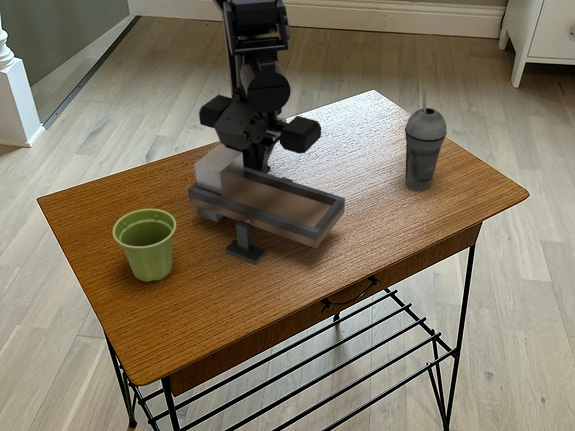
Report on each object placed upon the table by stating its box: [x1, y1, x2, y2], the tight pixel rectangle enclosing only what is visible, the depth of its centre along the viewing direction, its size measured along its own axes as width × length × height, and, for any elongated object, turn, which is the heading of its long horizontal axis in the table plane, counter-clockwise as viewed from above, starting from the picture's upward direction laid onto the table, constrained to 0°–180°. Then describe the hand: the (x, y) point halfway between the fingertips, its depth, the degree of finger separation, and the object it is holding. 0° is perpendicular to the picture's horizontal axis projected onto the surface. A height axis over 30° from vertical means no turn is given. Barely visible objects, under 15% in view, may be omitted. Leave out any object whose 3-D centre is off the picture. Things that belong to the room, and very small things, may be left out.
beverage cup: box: [404, 85, 447, 192], centre depth 108 cm, size 7×7×20 cm
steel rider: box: [194, 144, 245, 198], centre depth 101 cm, size 5×7×6 cm
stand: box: [224, 176, 294, 266], centre depth 102 cm, size 6×17×6 cm, turn 151°
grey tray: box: [187, 167, 346, 249], centre depth 101 cm, size 24×12×6 cm, turn 61°
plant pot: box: [112, 208, 177, 283], centre depth 94 cm, size 9×9×9 cm
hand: (261, 169), depth 97 cm, fingers closed
